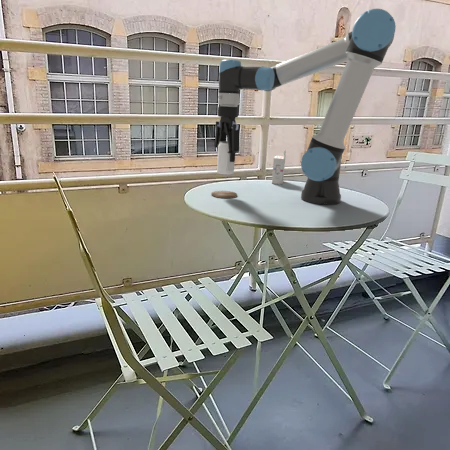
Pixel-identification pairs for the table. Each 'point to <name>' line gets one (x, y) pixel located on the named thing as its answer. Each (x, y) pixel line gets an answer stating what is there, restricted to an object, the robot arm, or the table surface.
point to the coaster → (224, 194)
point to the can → (223, 159)
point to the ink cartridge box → (278, 169)
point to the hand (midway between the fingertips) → (225, 168)
